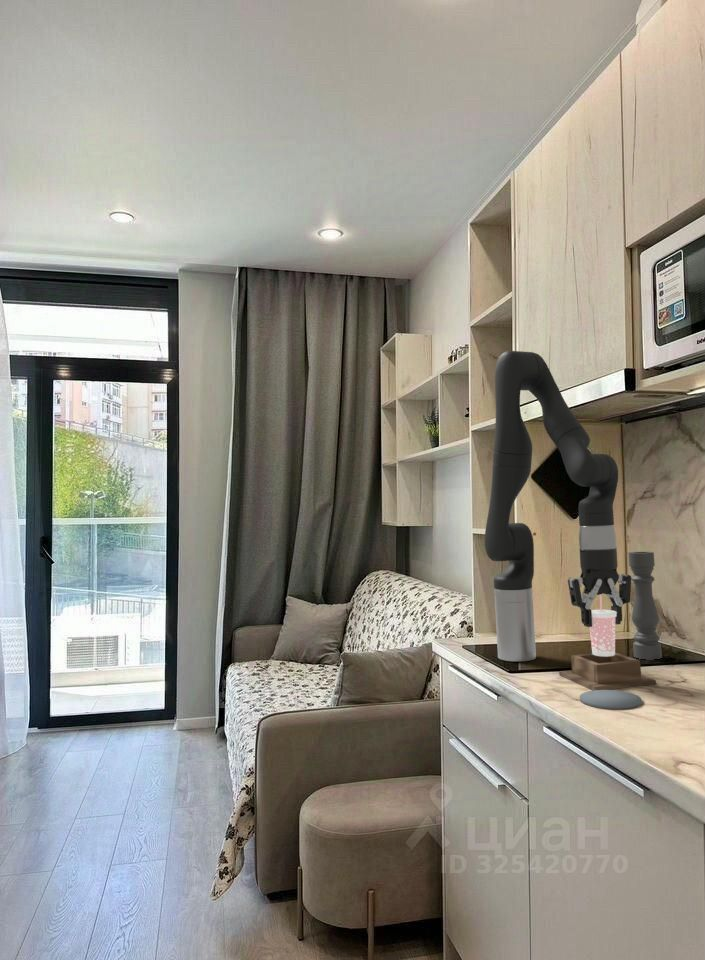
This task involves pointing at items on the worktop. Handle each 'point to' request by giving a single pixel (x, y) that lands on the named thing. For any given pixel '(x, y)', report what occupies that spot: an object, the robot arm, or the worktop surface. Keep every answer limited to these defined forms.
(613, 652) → the beverage cup
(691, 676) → the worktop surface
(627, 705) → the slate coaster
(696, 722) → the worktop surface
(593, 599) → the robot arm
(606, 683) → the stepped square tray
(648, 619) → the candle holder
